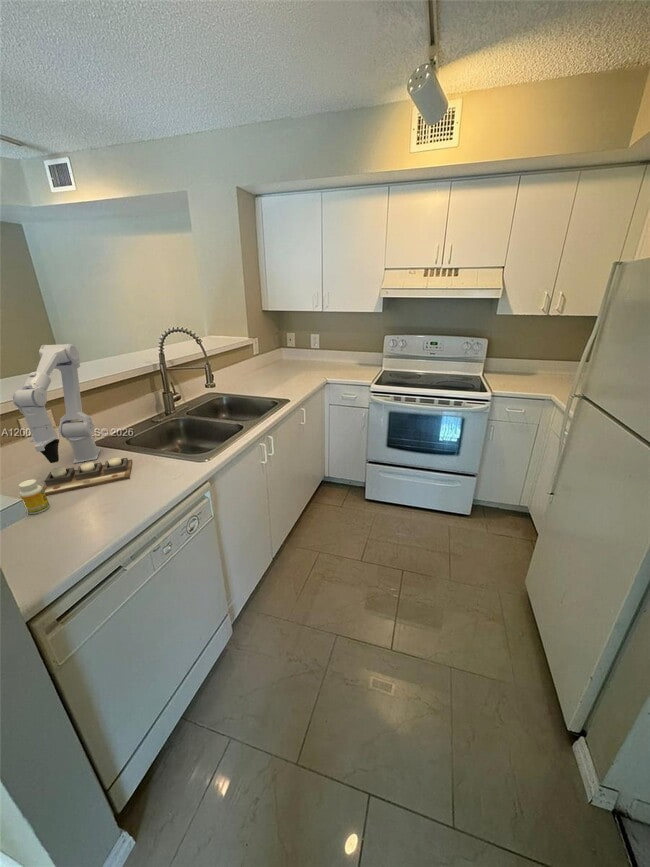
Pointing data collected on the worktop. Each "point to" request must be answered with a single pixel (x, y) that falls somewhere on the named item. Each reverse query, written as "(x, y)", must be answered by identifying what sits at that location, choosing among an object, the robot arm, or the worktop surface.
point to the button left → (59, 472)
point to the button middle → (87, 467)
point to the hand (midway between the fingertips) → (54, 461)
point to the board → (87, 477)
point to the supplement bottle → (33, 496)
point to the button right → (115, 462)
